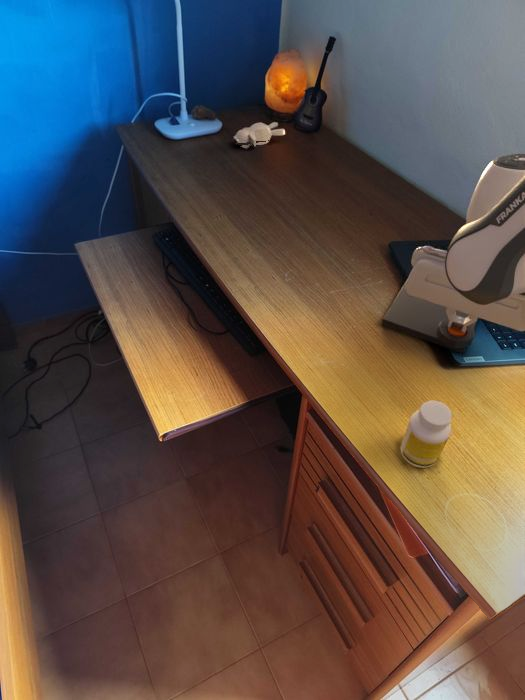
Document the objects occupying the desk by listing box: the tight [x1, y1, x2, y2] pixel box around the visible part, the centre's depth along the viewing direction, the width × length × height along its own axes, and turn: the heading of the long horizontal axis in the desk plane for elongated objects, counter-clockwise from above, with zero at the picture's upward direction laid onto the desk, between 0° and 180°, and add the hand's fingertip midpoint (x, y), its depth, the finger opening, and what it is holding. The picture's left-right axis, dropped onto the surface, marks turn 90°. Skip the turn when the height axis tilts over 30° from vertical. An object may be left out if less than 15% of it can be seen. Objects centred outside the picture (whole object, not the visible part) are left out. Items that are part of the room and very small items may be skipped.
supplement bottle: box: [400, 400, 453, 469], centre depth 64 cm, size 5×5×10 cm
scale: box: [381, 280, 479, 354], centre depth 86 cm, size 16×15×3 cm
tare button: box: [447, 327, 466, 337], centre depth 81 cm, size 3×3×2 cm
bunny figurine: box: [233, 121, 286, 149], centre depth 142 cm, size 10×5×15 cm
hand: (456, 327), depth 81 cm, fingers closed, pressing on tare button
